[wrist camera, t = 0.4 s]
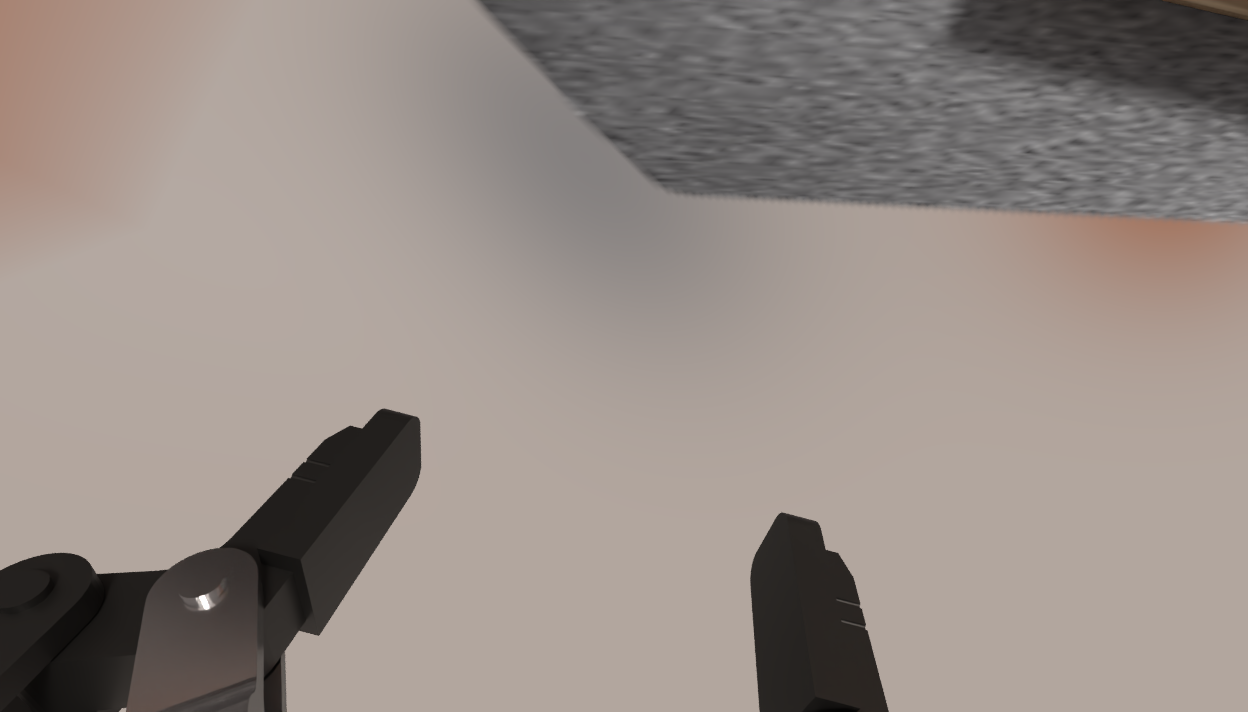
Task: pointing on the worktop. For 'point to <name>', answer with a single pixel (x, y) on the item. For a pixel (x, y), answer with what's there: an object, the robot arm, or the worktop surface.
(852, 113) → the worktop surface
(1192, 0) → the bay
